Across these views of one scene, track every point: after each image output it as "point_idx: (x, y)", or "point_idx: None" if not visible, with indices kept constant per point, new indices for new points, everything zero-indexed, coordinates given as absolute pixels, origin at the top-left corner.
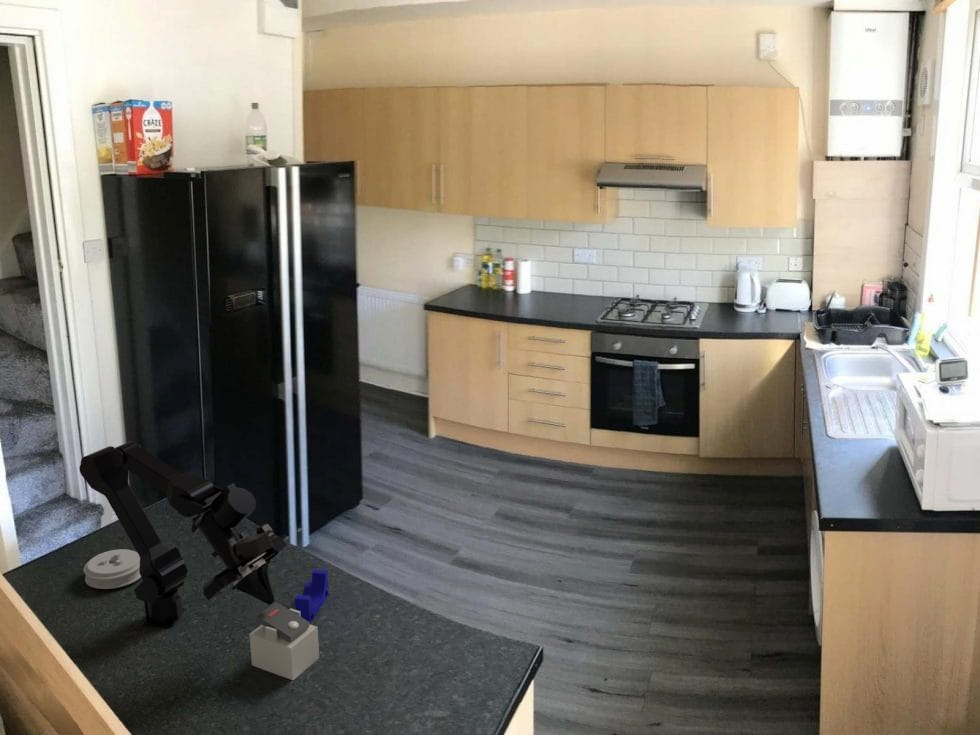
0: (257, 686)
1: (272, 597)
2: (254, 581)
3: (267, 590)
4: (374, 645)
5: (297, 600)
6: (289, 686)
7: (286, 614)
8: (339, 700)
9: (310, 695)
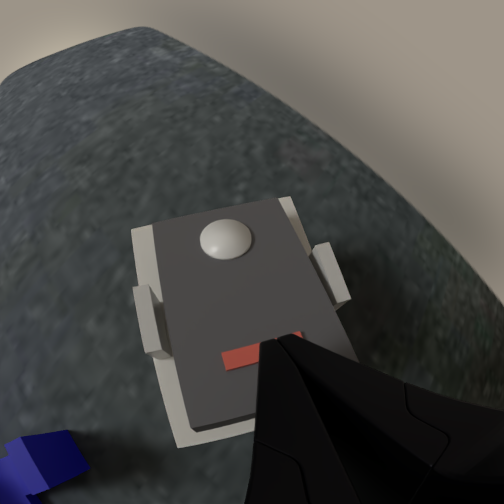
0: (351, 299)
1: (274, 351)
2: (499, 429)
3: (308, 395)
4: (46, 220)
5: (47, 477)
6: None
7: (206, 310)
8: (238, 137)
9: (272, 184)
